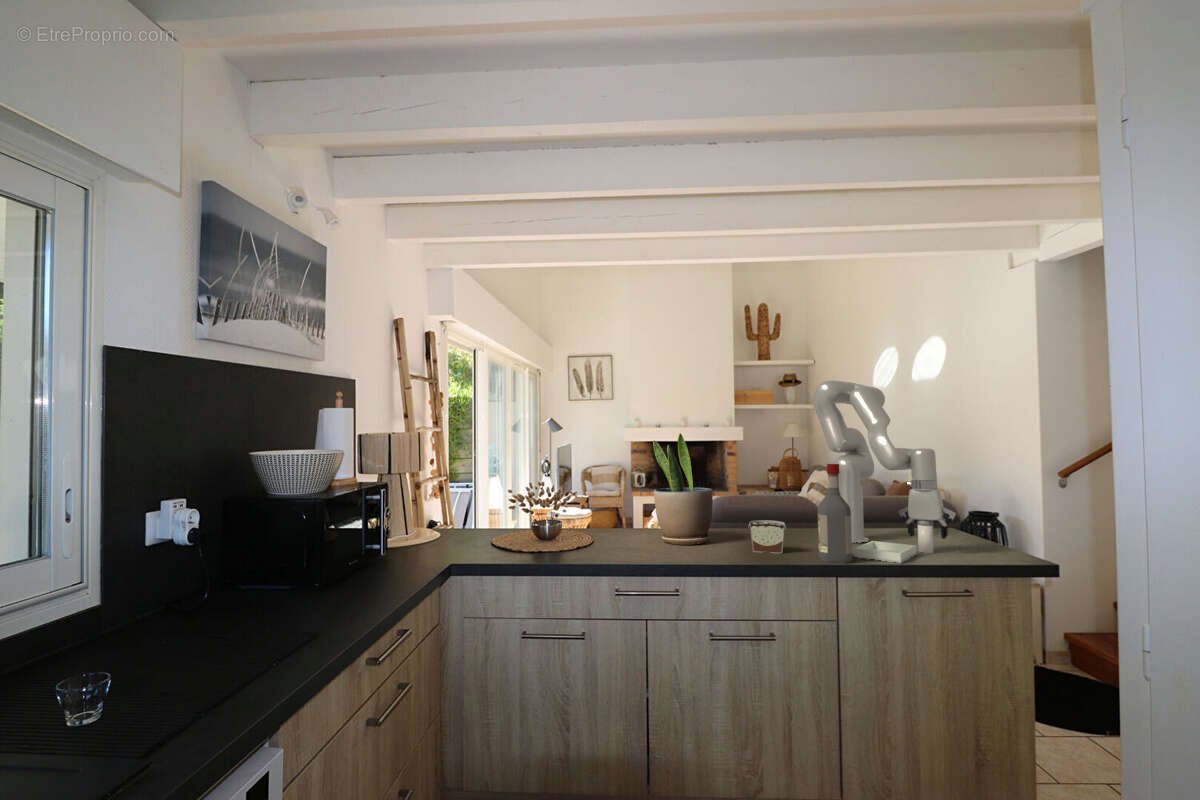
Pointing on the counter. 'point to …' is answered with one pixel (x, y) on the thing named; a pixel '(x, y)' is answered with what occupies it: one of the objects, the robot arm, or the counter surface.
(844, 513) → the liquor
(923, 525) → the shaker
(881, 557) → the tray
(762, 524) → the food container
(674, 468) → the potted plant
